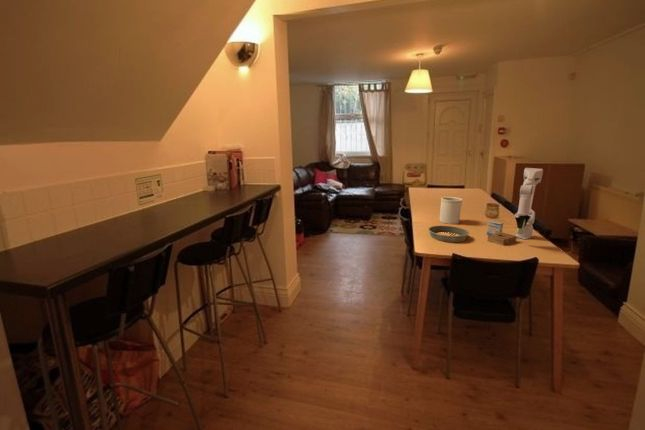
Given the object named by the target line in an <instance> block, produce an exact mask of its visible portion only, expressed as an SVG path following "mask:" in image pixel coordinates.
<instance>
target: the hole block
mask: <svg viewBox="0 0 645 430" xmlns="http://www.w3.org/2000/svg"><path fill="white" fill-rule="evenodd" d="M514 235H515V234H510V233H505V232H503V231H502V232H499V233H496V234H492V235H487V242H489V243H494V244H496V245H500V246H505V245H508V244H509V245H510V244H513V243H516V242H517V238H518V237H517V236H514Z"/></svg>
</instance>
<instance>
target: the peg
mask: <svg viewBox="0 0 645 430" xmlns="http://www.w3.org/2000/svg"><path fill="white" fill-rule="evenodd" d="M524 225H525V221H524V223H523V226H522V228H521V229H520V228H518V234H523V232H524Z"/></svg>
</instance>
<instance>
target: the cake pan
mask: <svg viewBox="0 0 645 430" xmlns="http://www.w3.org/2000/svg"><path fill="white" fill-rule="evenodd" d="M427 230H428V232H429V235H430V237H431V239H434V240H437V241H440V240H441V242H448V243H461V242H465V241H466V239H467V236H469V234H470V232H469V231H468V230H467V229H464V228H461V227H459V226H458V227H457V226H452V225H434V226H433V225H432V226H430V227H428V228H427ZM435 232H436V233H435ZM439 232H444V233H445V232H446V233H448V232H449V234H451V233H452V234H451V235H450V236H447V235H441V233H439ZM454 233H455V234H454ZM453 234H454V235H453ZM456 234H458V235H459V236H455V235H456ZM452 235H453V236H452Z"/></svg>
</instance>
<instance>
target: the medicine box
mask: <svg viewBox="0 0 645 430" xmlns="http://www.w3.org/2000/svg"><path fill="white" fill-rule="evenodd" d="M487 223H488V224H487V228H486V229H487V230H486V235H487V236H488V235H492V234H496V233H499V232H503V227H504V223H503V222H498V221H493V220H490V221H488V222H487Z"/></svg>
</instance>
